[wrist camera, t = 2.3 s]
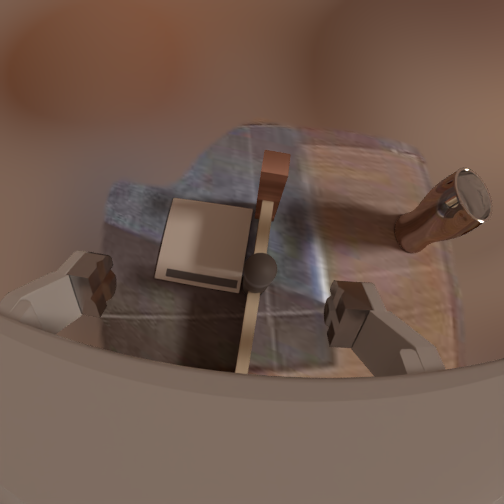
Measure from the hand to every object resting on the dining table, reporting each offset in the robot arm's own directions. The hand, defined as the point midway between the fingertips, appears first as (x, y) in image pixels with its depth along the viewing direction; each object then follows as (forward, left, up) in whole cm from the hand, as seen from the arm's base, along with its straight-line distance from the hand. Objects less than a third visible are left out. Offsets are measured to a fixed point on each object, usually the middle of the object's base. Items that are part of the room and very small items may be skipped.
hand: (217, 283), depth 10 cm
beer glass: (+14, -24, -25) cm, 37 cm away
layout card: (+8, +5, -25) cm, 26 cm away
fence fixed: (-3, -2, -25) cm, 25 cm away
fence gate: (+9, -2, -24) cm, 26 cm away
